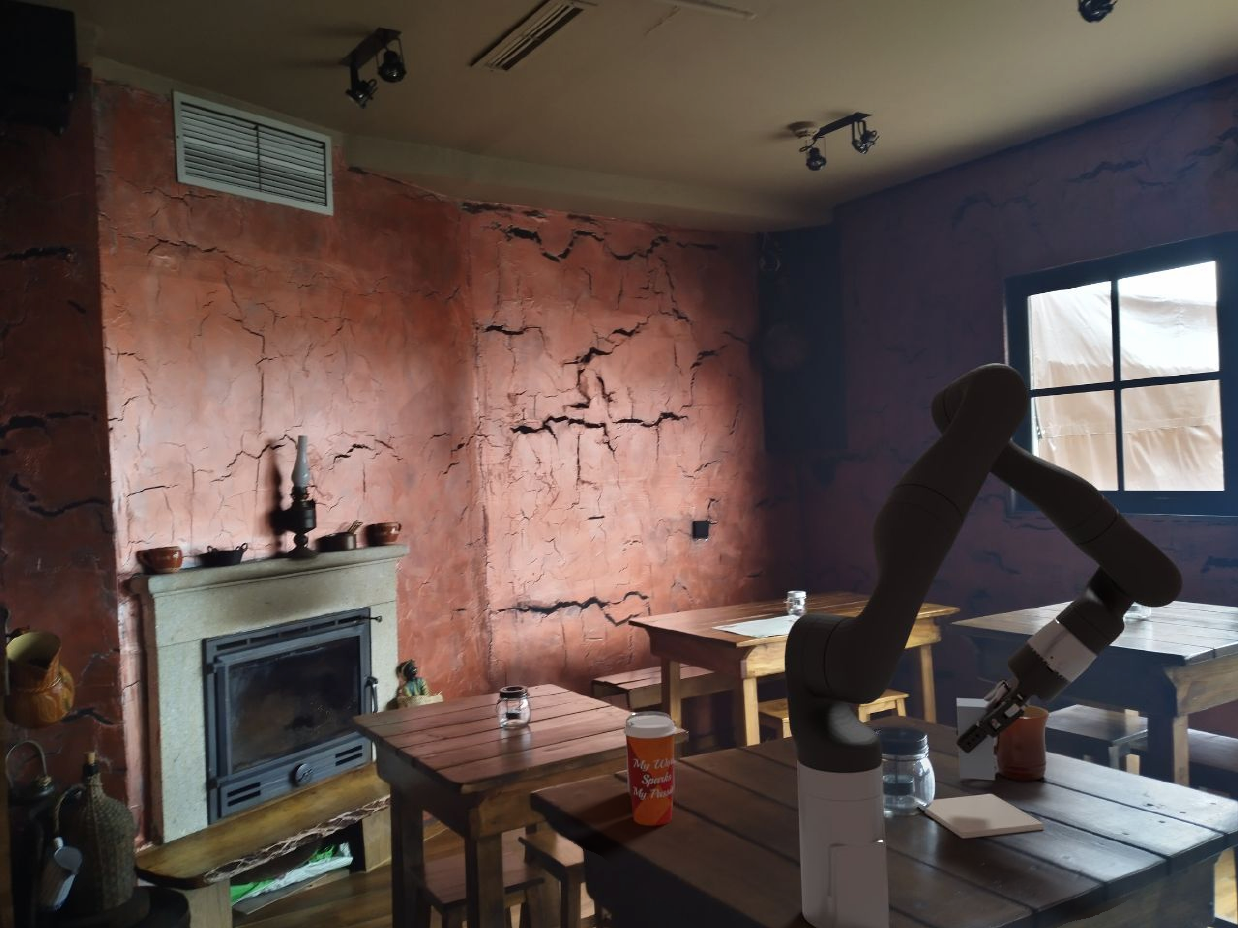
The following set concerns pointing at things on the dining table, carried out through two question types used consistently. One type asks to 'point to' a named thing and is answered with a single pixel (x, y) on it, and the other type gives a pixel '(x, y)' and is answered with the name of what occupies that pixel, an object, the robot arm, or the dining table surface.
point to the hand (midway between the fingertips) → (961, 742)
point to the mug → (1023, 746)
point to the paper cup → (651, 768)
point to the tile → (981, 816)
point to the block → (982, 756)
